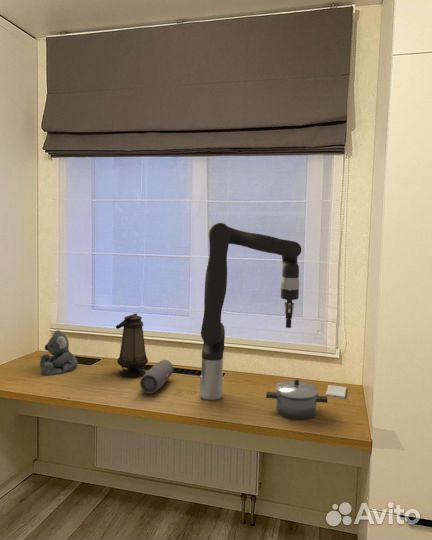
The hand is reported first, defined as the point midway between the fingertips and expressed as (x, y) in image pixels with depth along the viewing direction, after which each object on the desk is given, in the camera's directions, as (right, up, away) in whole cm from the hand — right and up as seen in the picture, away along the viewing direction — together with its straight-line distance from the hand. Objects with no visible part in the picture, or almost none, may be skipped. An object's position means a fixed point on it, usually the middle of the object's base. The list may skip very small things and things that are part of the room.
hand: (288, 327), depth 191 cm
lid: (+1, -25, -13) cm, 28 cm away
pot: (+1, -32, -12) cm, 35 cm away
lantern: (-73, -27, +29) cm, 83 cm away
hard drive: (+23, -32, +10) cm, 40 cm away
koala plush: (-110, -26, +33) cm, 118 cm away
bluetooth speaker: (-58, -29, +12) cm, 66 cm away
